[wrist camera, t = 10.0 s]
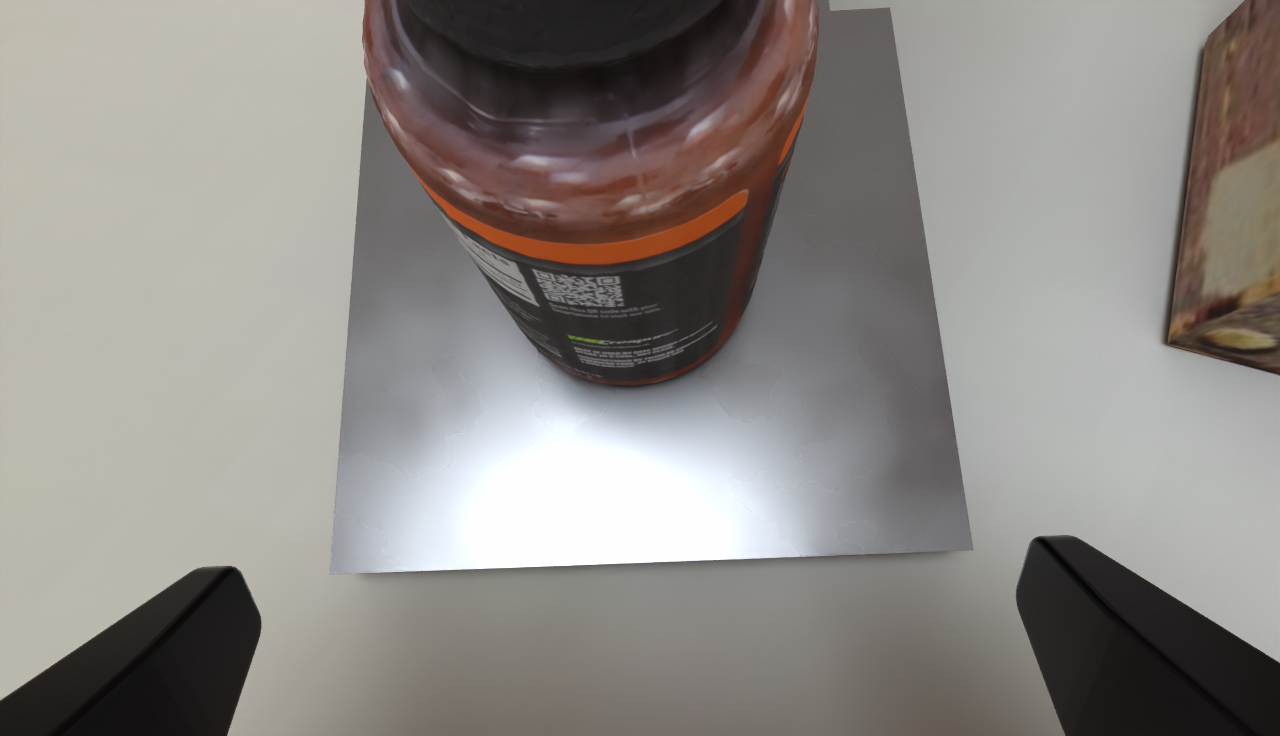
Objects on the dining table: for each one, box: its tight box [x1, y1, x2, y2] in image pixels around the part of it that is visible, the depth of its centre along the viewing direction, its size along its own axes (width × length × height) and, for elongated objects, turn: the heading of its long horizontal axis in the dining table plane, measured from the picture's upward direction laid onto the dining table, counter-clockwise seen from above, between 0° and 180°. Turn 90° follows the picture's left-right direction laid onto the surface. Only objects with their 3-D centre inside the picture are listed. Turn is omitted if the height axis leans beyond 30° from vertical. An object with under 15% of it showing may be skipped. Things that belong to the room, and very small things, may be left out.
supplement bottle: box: [362, 0, 819, 386], centre depth 12 cm, size 6×6×11 cm
